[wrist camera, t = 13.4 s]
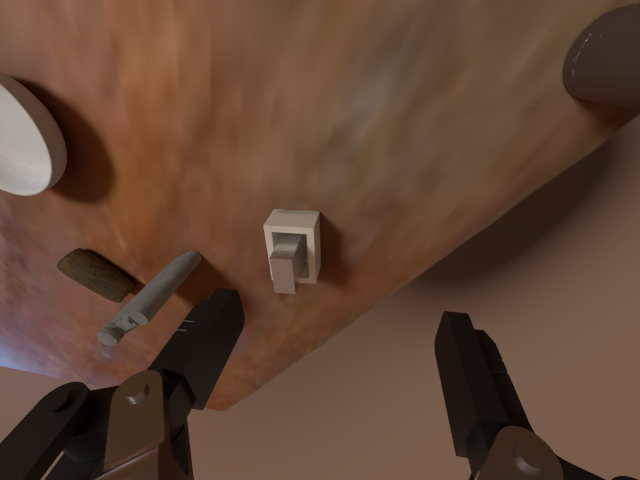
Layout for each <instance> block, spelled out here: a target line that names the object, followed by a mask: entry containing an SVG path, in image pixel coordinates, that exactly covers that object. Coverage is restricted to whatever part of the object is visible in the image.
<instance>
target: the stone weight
mask: <svg viewBox="0 0 640 480" xmlns="http://www.w3.org/2000/svg"><path fill="white" fill-rule="evenodd" d="M57 267H58V269H59V270H60V271H62V272H63V273H64V274H66V275H67V276H68V277H70V278H72V279H73V280H75V281H77V282H78V283H80V284H82V285H83V286H85V287H87V288H88V289H90V290H92V291H93V292H95V293H97V294H99V295H101V296H103V297H105V298H107V299H109V300H111V301H114V302H118V303H120V302H122V300H123V299H124V298H125V297H126V296H127V295H128V294H129V293H130V292H131V291H132V290H133V289H134V288H135V285H134V284H133V283H132V281H131V280H130V279H129V278H128V277H126V276H125V275H124V274H122V273H121V272H120V271H118V270H117V269H115V268H113V267H112V266H110V265H109V264H108V263H106V262H105V261H103V260H102V259H100V258H98V257H97V256H95V255H93V254H91V253H90V252H88V251H86V250H84V249H81V248H78V249H75V250H73V251H71V252H70V253H69V254H67V255H66V256H64V257H63V258H62V259H61V260H60V261H59V262H58V264H57Z"/></svg>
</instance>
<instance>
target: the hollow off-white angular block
mask: <svg viewBox="0 0 640 480" xmlns="http://www.w3.org/2000/svg"><path fill="white" fill-rule="evenodd" d="M263 226H264V232H265V238H266V245H267V251H268V257H269V258H270V256H271V254H272V252H273V250H274V248H275V246H276V244H277V243H278V241H279V239H280V237H281V235H282V233H296V234H306V244H307V261H306V264H305V267H304V270H303V273H302V276H301V279H300V282H299V283H309V284H316V282H317V278H318V274H319V271H320V267H321V244H320V211H302V210H282V209H274V210H273V212H272V213H271V215H270V216H269V218H268V219H267V221H266V222H265V224H264V225H263ZM269 264H270V259H269ZM270 270H271V265H270ZM271 276H272V271H271ZM272 280H273V277H272Z"/></svg>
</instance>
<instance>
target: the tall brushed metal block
mask: <svg viewBox="0 0 640 480" xmlns="http://www.w3.org/2000/svg"><path fill="white" fill-rule="evenodd" d="M269 259H270V265H271V271H272V277H273V283H274V289H275V292H278V293H290V294H296V291H297V288H298V285H299V282H300V279H301V276H302V273H303V270H304V267H305V264H306V261H307V244H306V234H296V233H282V235H281V237H280V239H279V241H278V243H277V244H276V246H275V248H274V250H273V252H272V254H271V256H270V258H269Z"/></svg>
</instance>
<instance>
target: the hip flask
mask: <svg viewBox="0 0 640 480" xmlns="http://www.w3.org/2000/svg"><path fill="white" fill-rule="evenodd" d="M201 261H202V256H201V255H200V253H198V252H197V251H189V252H186V253H184V254H182V255H180V256H178V257H177V258H175V259H174V260H172V261H171V262H170V263H169V264H167V265H166V266H165V267H164V268H163V269H162V270H161V271H160V272H159V273H158V274H157V275H156V276H155V277H154V278H153V279H152V280H151V281H150V282H149V283H148V284H147V285H146V286H145V287H144V288H143V289H142V290H141V291H140V292H139V293H138V294H137V295H136V296H135V297H134V298H133V299H132V300H131V301H130V302H129V303H128V304H127V305H126V306H125V307H124V308H123V309H122V310H121V311H120V312H119V313H118V314H117V315H116V316H115V317H114V318H113V319H112V320H111V321H110V322H109V323H108V324H107V325H106V326H105V327H104V328H103V329H101V330H100V331H99V332H98V333H97V339H98V340H99V341H100V342H101V343H103V344H104V345H107V346H116V345H117V344H118V343H119V342H120V340H121V338H122V337H123V336H124V335H125V333H127V332H128V331H130V330H132V329H134V328H137V327H139V326H143V325H146V324H148V322H149V321H150V320H151V319H152V318H153V317H154V315H155V314H156V313H157V312H158V311H159V310H160V308H161V307H162V306H163V305H164V304H165V303H166V301H167V300H168V299H169V298H170V297H171V296H172V294H173V293H174V292H175V291H176V290H177V289H178V287H179V286H180V285H181V284H182V283H183V282H184V280H185V279H186V278H187V277H188V276H189V275H190V273H191V272H192V271H193V270H194V269H195V268H196V266H197V265H198V264H199V263H200V262H201Z"/></svg>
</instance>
